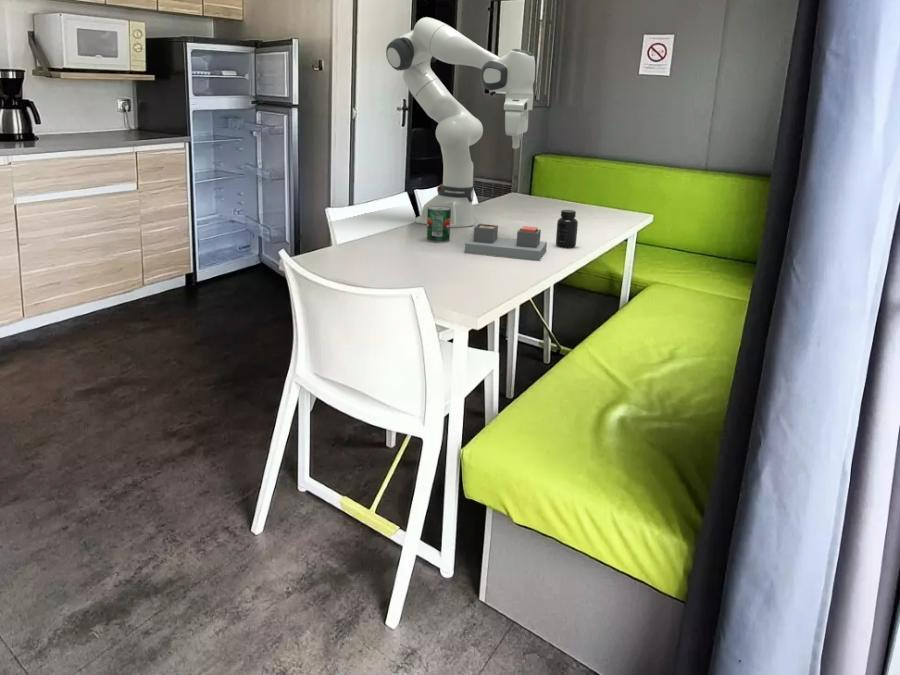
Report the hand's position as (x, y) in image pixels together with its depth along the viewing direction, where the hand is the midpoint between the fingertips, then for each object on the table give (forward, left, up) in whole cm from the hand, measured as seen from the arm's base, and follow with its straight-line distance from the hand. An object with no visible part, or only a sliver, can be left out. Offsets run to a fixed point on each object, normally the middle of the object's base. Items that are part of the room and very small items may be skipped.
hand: (515, 148), depth 234 cm
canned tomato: (-23, -8, -31) cm, 40 cm away
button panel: (+2, -15, -31) cm, 35 cm away
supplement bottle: (+19, +2, -31) cm, 37 cm away
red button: (+9, -15, -27) cm, 32 cm away
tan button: (-5, -15, -28) cm, 32 cm away
